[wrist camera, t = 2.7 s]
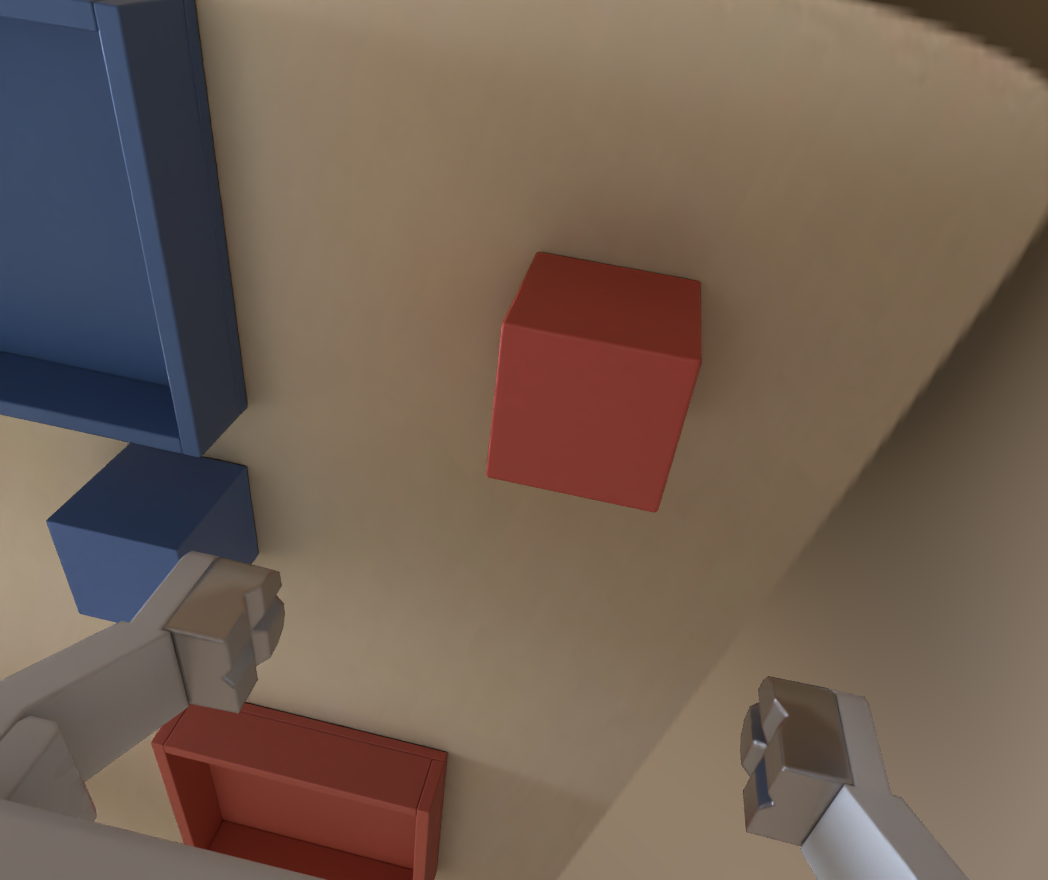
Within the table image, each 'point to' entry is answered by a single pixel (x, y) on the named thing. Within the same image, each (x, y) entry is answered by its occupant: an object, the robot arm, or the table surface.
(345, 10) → the table surface
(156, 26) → the blue tray
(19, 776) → the robot arm
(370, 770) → the red tray
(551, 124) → the table surface
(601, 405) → the red block
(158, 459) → the blue block
